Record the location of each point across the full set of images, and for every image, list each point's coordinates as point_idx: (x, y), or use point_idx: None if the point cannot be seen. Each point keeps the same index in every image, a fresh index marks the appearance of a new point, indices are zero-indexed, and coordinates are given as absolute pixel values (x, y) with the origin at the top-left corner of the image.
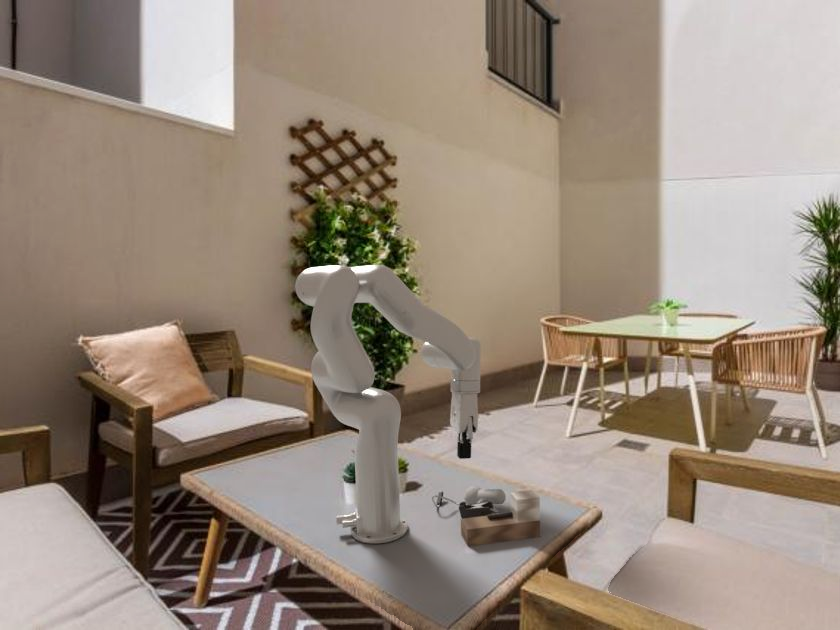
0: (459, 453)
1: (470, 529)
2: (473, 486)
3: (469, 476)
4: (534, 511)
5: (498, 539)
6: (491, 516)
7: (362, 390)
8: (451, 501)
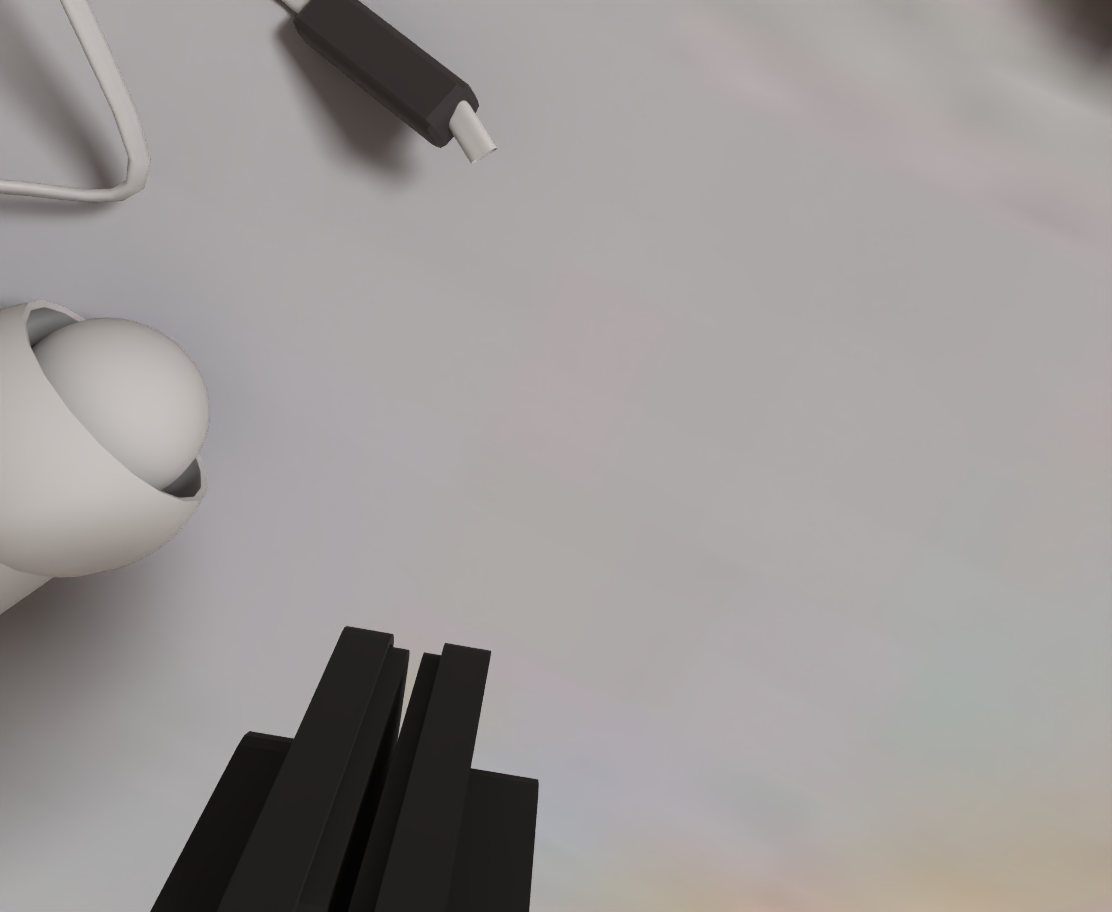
0: (316, 698)
1: None
2: (14, 487)
3: (979, 753)
4: None
5: None
6: None
7: None
8: (130, 132)
